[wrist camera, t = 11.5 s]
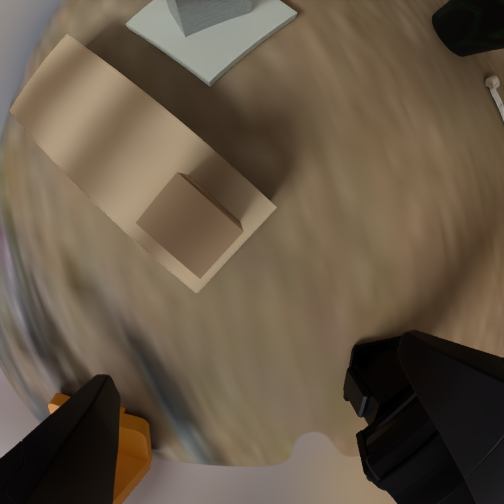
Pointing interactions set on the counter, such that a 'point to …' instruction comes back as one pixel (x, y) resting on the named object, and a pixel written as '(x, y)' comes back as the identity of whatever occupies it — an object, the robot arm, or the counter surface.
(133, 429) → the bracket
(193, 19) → the lever cap
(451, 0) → the cup
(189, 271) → the body
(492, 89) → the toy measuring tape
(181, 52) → the sage mat
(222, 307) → the counter surface
